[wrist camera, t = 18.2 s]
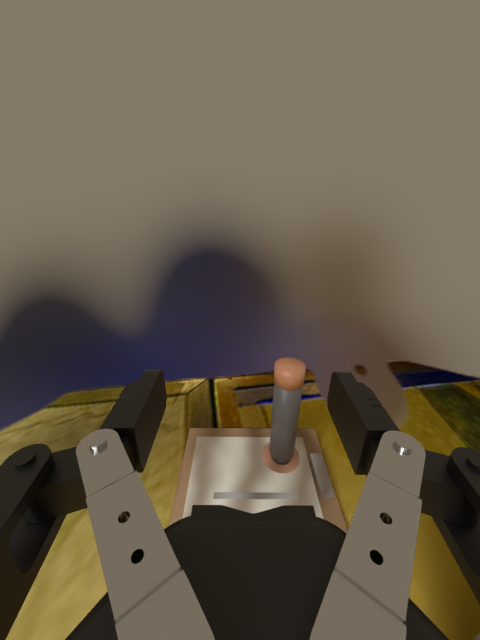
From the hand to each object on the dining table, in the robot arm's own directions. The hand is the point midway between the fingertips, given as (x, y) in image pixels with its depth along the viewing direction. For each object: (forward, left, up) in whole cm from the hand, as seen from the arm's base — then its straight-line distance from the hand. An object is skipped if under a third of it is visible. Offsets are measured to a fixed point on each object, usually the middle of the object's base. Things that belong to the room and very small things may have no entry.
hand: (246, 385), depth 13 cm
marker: (+6, +18, -27) cm, 33 cm away
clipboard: (+2, +15, -28) cm, 32 cm away
